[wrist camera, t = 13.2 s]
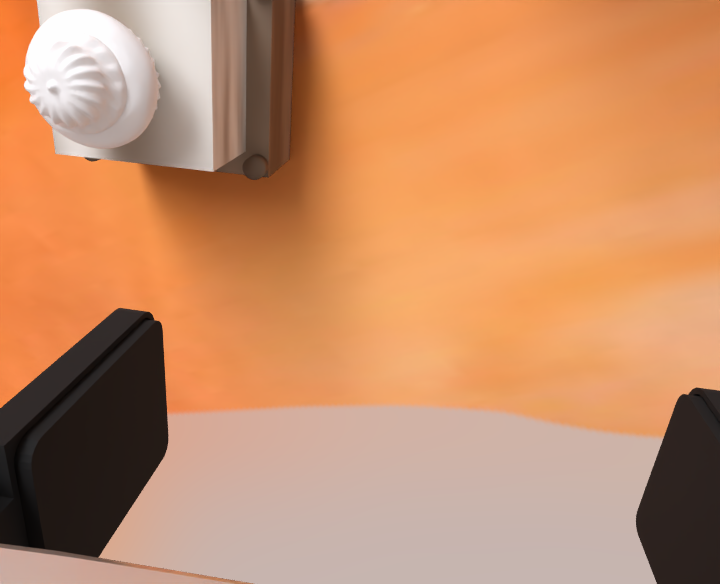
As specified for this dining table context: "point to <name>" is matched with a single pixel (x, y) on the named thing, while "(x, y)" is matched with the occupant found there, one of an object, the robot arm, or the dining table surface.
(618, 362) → the dining table surface
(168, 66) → the knobbed square box
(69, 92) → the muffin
